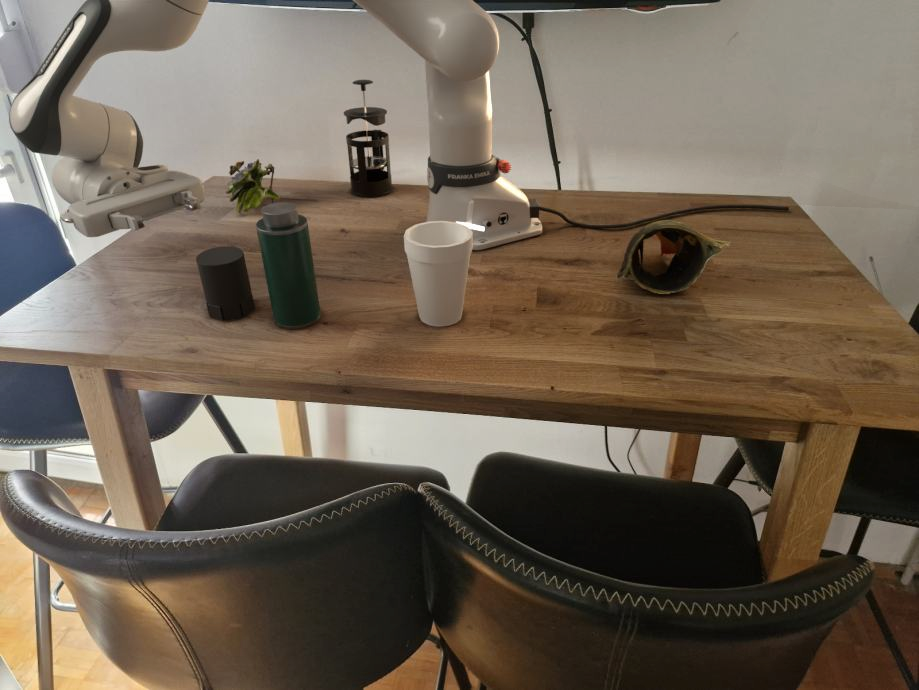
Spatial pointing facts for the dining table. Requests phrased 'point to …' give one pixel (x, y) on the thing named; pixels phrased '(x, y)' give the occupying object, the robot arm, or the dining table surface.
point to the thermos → (288, 266)
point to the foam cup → (439, 269)
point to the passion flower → (250, 185)
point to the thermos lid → (225, 283)
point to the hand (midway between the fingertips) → (168, 214)
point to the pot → (674, 240)
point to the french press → (369, 168)
